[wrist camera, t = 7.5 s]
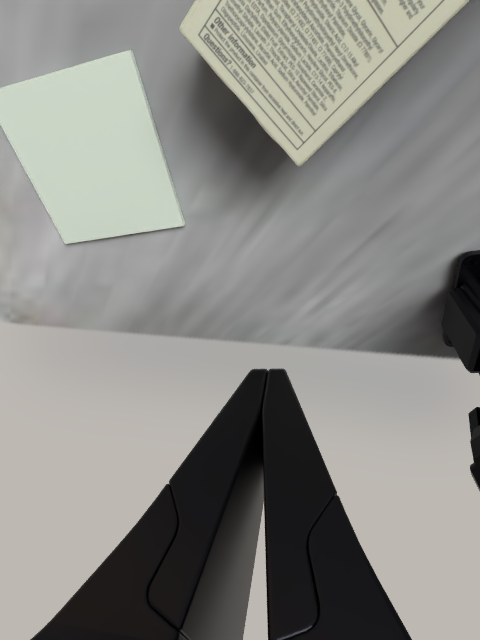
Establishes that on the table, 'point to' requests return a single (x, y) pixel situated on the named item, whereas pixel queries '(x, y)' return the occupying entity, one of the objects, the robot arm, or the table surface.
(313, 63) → the skincare box
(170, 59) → the table surface
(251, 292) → the table surface
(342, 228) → the table surface
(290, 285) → the table surface
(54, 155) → the mat
